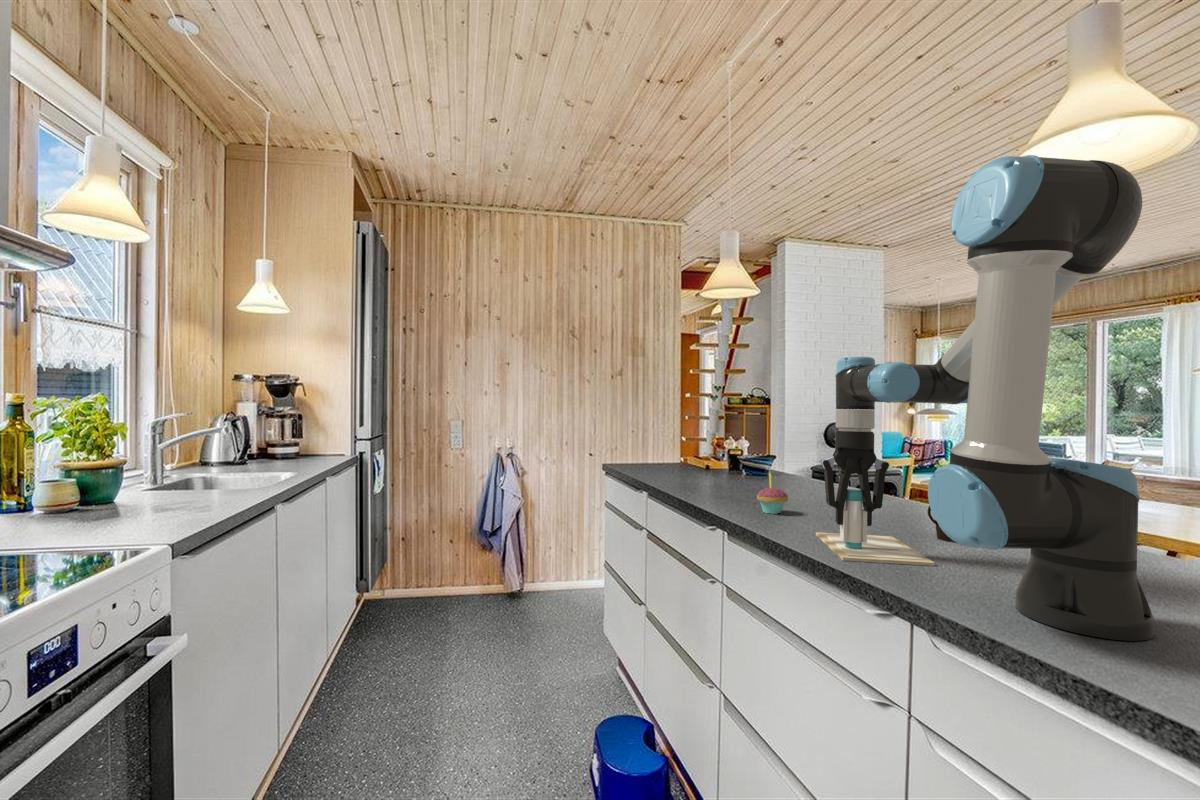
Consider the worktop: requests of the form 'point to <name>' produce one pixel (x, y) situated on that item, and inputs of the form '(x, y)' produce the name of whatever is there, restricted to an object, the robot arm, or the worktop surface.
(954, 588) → the worktop surface
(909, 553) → the wooden board
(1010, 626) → the worktop surface
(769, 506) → the cupcake
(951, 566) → the worktop surface
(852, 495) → the marker
